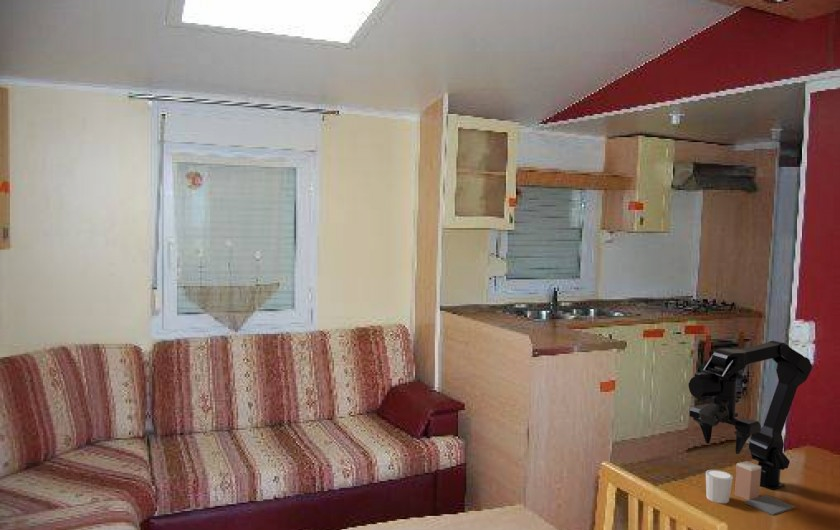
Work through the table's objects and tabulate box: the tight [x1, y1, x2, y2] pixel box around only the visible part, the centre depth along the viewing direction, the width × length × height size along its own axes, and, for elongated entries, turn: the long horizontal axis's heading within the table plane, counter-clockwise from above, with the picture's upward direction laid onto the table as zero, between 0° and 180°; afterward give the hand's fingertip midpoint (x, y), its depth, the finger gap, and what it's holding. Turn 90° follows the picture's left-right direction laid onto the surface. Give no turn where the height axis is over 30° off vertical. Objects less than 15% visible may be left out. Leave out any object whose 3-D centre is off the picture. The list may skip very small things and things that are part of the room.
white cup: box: [705, 469, 734, 504], centre depth 176 cm, size 7×7×7 cm
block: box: [734, 460, 761, 501], centre depth 178 cm, size 4×4×9 cm
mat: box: [743, 494, 796, 516], centre depth 173 cm, size 10×8×1 cm
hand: (722, 448), depth 181 cm, fingers open, 9 cm apart
